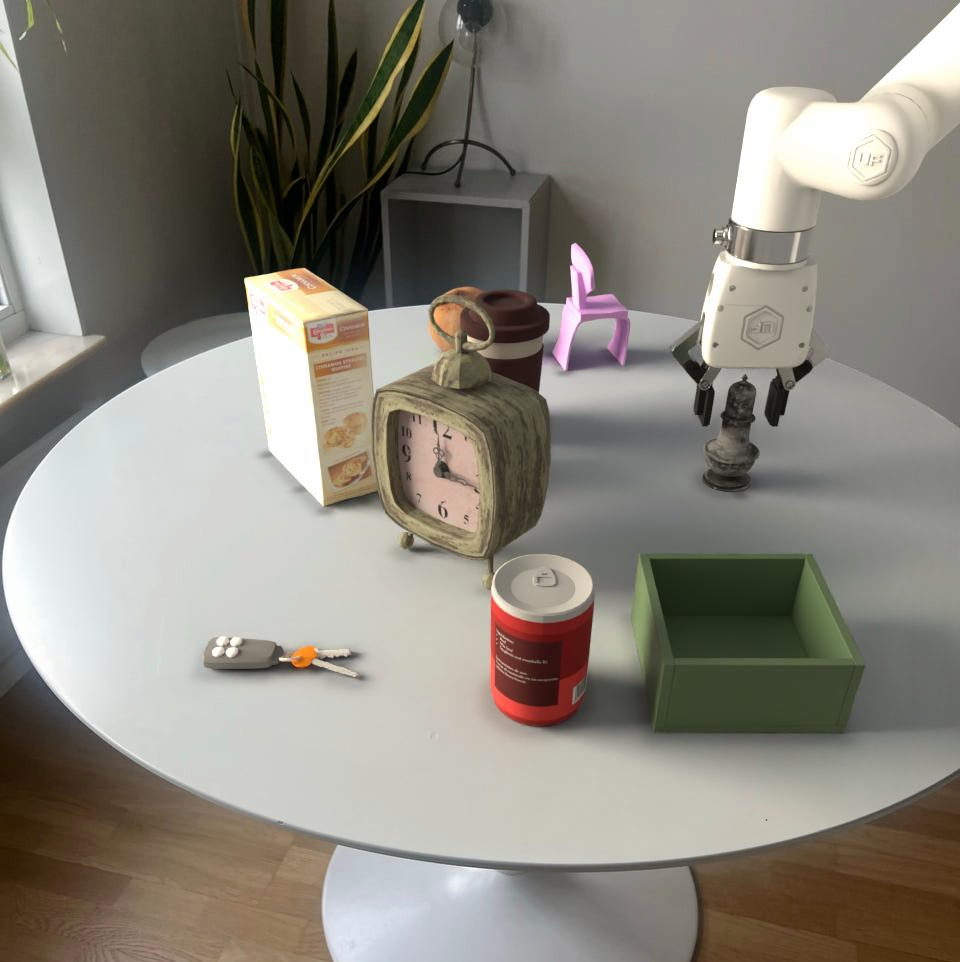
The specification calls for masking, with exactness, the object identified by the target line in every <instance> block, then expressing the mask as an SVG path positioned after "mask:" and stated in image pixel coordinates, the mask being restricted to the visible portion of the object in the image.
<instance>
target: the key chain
mask: <svg viewBox="0 0 960 962" xmlns="http://www.w3.org/2000/svg"><path fill="white" fill-rule="evenodd" d="M351 655H352V650H351V648H339V649H338V648H337V649H319V648H317V647H316V646H315V645H306V646H303V647H301V648H299V649H297V650H296V651H295V652H294V651H288V652H286V653H285V654H284V648H283V646H282V645H277V643H276V641H272V640H267V639H254V638H253V639H252V638H244V637H240V636H236V637H230V636H226V635H225V636H217V637H212V638H211V639H210V640H208V641H207V644H206V646H205V648H204V651H203V653H202V657H201V658H202V663H203V667H204V668H207V669H212V670H214V669H217V670H220V669H221V670H222V669H224V670H225V669H226V670H227V669H230V670H231V669H232V670H233V669H237V670H238V669H245V670H246V669H267V668H271V667H272V666H275V665H278V664H279V663H280V662H289V663H292V665H293V666H295V667H296V668H307V667H309V666H310V665H314V666H317V667H320V668H324V669H327V670H330V671H332V672H335V673H340V674H343V675H346V676H350V677H354V678H357V676H359V673H358V672H355V671H352V670H350V669H347V668H346V667H343V666H338V665H335V664H332V663H331V662H328V661H323V659H326V657H327V659H329V658H330V659H334V657H335V658H339V657H344V658H347V657H348V656H351Z"/></svg>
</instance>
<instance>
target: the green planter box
mask: <svg viewBox="0 0 960 962" xmlns="http://www.w3.org/2000/svg"><path fill="white" fill-rule="evenodd" d="M635 573H636V574H635V582H634V590H633V599H632V605H631V615H630V619H631V625H632V629H633V635H634V640H635V645H636V649H637V654H638V659H639V664H640V665H639V666H640V670H641V675H642V680H643V685H644V690H645V696H646V701H647V705H648V711H649V715H650V720H651V721H650V722H651V726H652V731H653V733H711V734H712V733H713V734H715V733H719V734H720V733H728V734H729V733H734V734H735V733H737V734H738V733H740V734H741V733H743V734H745V733H746V734H747V733H749V734H750V733H751V734H752V733H755V734H756V733H758V734H759V733H760V734H761V733H763V734H765V733H767V734H770V733H773V734H777V733H779V734H780V733H781V734H787V733H789V734H790V733H791V734H797V733H799V734H845V731H846V728H847V725H848V721H849V718H850V716H851V712H852V709H853V706H854V702H855V700H856V697H857V694H858V690H859V687H860V685H861V682H862V678H863V675H864V672H865V669H866V663H865V661H864V659H863V656H862V654H861V652H860V650H859V648H858V646H857V643H856V642H855V640H854V638H853V636H852V634H851V631H850V630H849V627H848V625H847V622H846V621H845V619H844V617H843V615H842V613H841V611H840V609H839V607H838V604H837V603H836V600H835V598H834V596H833V594H832V591H831V589H830V587H829V586H828V584H827V582H826V579H825V578H824V575H823V573H822V572H821V569H820V567H819V565H818V563H817V561H816V558H815V556H814V554H813V553H734V552H733V553H731V552H730V553H727V552H726V553H724V552H723V553H721V552H719V553H717V552H715V553H710V552H709V553H707V552H706V553H703V552H702V553H700V552H699V553H698V552H697V553H694V552H693V553H691V552H690V553H688V552H687V553H685V552H683V553H681V552H680V553H678V552H677V553H676V552H675V553H673V552H672V553H671V552H670V553H669V552H668V553H666V552H665V553H664V552H663V553H661V552H660V553H659V552H658V553H657V552H654V553H653V552H652V553H651V552H649V553H647V552H639V553H638V555H637V565H636V572H635Z"/></svg>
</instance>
